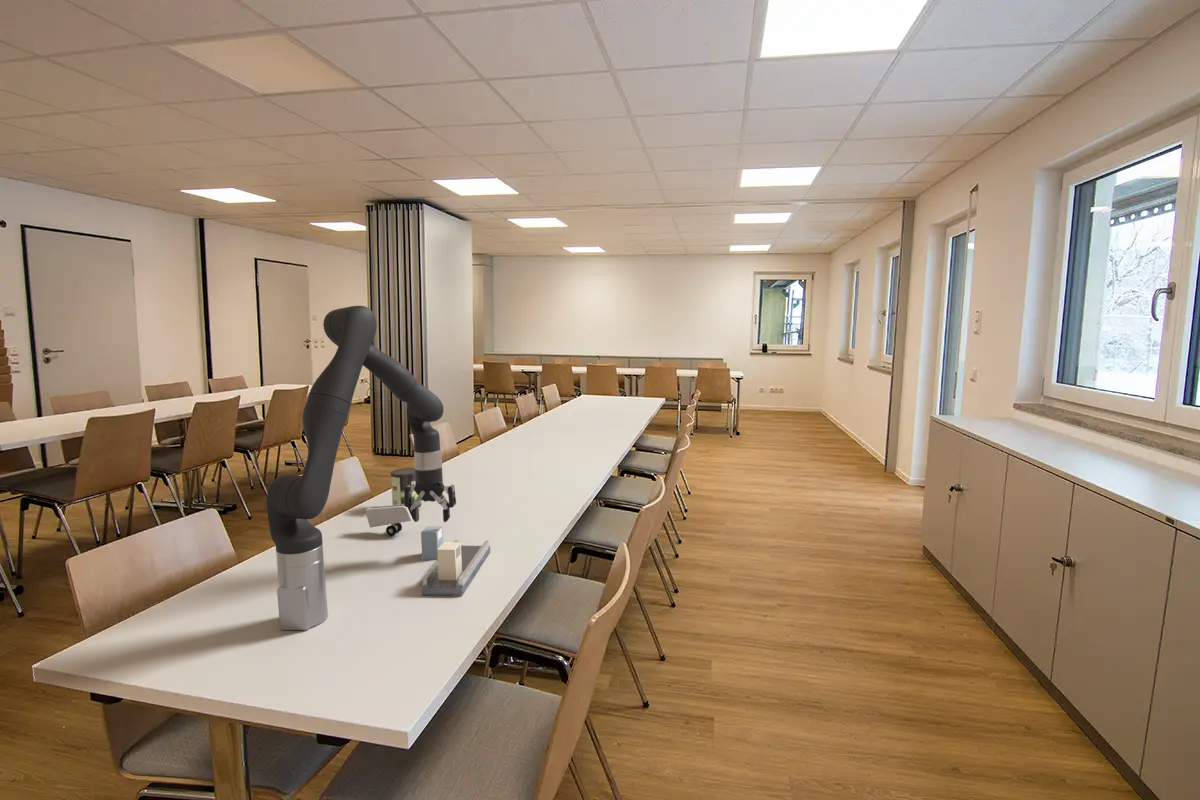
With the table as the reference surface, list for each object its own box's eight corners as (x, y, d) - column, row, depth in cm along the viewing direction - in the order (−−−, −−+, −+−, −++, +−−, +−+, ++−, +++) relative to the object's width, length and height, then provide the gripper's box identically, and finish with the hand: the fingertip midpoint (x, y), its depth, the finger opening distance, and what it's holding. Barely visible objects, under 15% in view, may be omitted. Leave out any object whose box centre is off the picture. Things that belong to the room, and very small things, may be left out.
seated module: (456, 580, 146) (455, 549, 145) (438, 580, 146) (437, 549, 145) (462, 572, 151) (461, 542, 150) (444, 571, 151) (443, 542, 150)
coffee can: (426, 504, 217) (425, 468, 215) (413, 513, 206) (411, 474, 205) (401, 504, 218) (399, 467, 216) (387, 512, 208) (384, 474, 206)
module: (437, 559, 165) (436, 532, 164) (422, 559, 165) (420, 532, 164) (443, 552, 170) (442, 526, 169) (428, 552, 170) (426, 526, 169)
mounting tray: (462, 596, 142) (461, 580, 141) (421, 595, 142) (421, 579, 142) (490, 552, 169) (489, 539, 169) (456, 552, 170) (456, 538, 169)
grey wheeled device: (371, 539, 185) (413, 532, 182) (364, 509, 184) (406, 502, 181) (378, 534, 189) (419, 528, 186) (371, 506, 188) (412, 498, 185)
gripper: (398, 469, 161) (401, 525, 163) (448, 469, 160) (451, 525, 162) (408, 462, 168) (411, 516, 170) (456, 462, 167) (459, 516, 170)
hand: (431, 521), depth 166 cm, fingers open, 8 cm apart
